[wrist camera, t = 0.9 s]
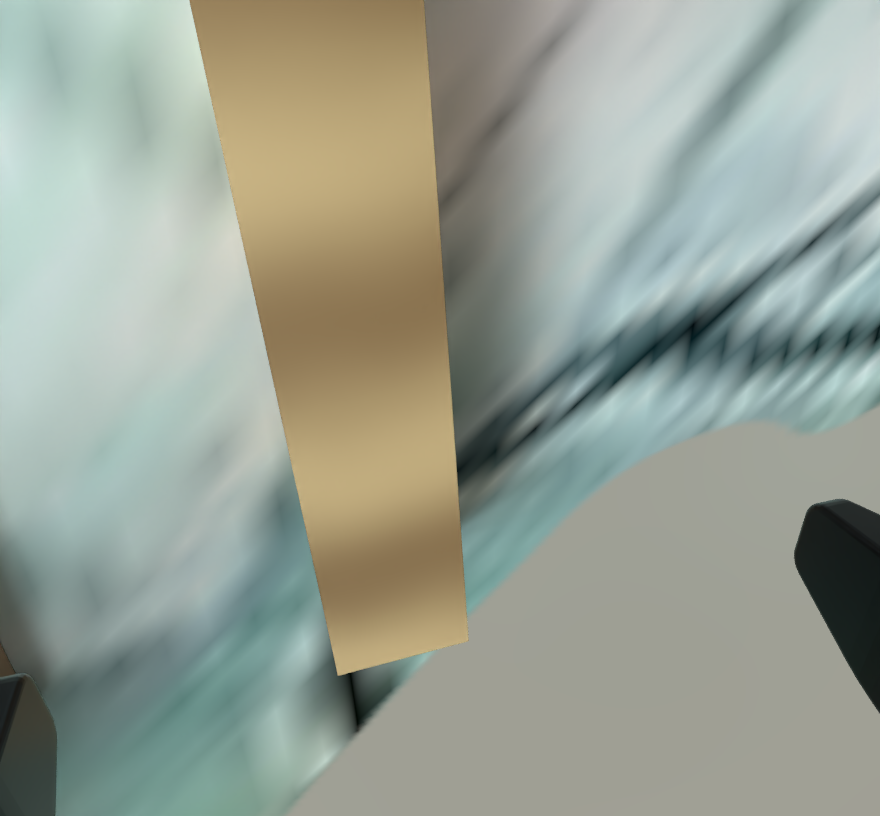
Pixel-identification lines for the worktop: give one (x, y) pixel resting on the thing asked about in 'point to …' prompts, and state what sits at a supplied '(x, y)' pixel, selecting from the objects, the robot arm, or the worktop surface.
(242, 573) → the worktop surface
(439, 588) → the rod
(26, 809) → the robot arm
